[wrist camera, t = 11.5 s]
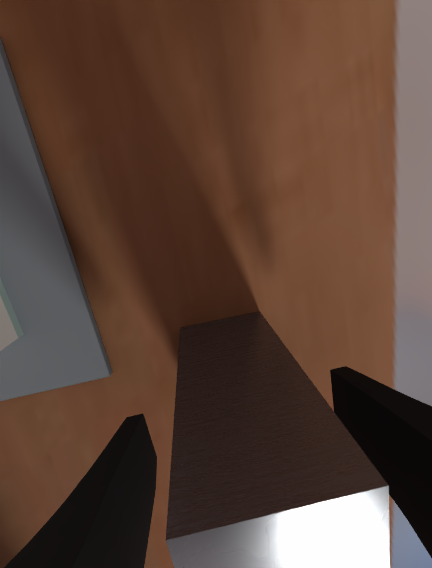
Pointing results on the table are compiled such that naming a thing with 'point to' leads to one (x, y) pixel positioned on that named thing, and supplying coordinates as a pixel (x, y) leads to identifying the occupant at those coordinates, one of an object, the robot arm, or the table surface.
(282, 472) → the block
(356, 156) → the table surface
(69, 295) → the mat
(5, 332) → the tile
